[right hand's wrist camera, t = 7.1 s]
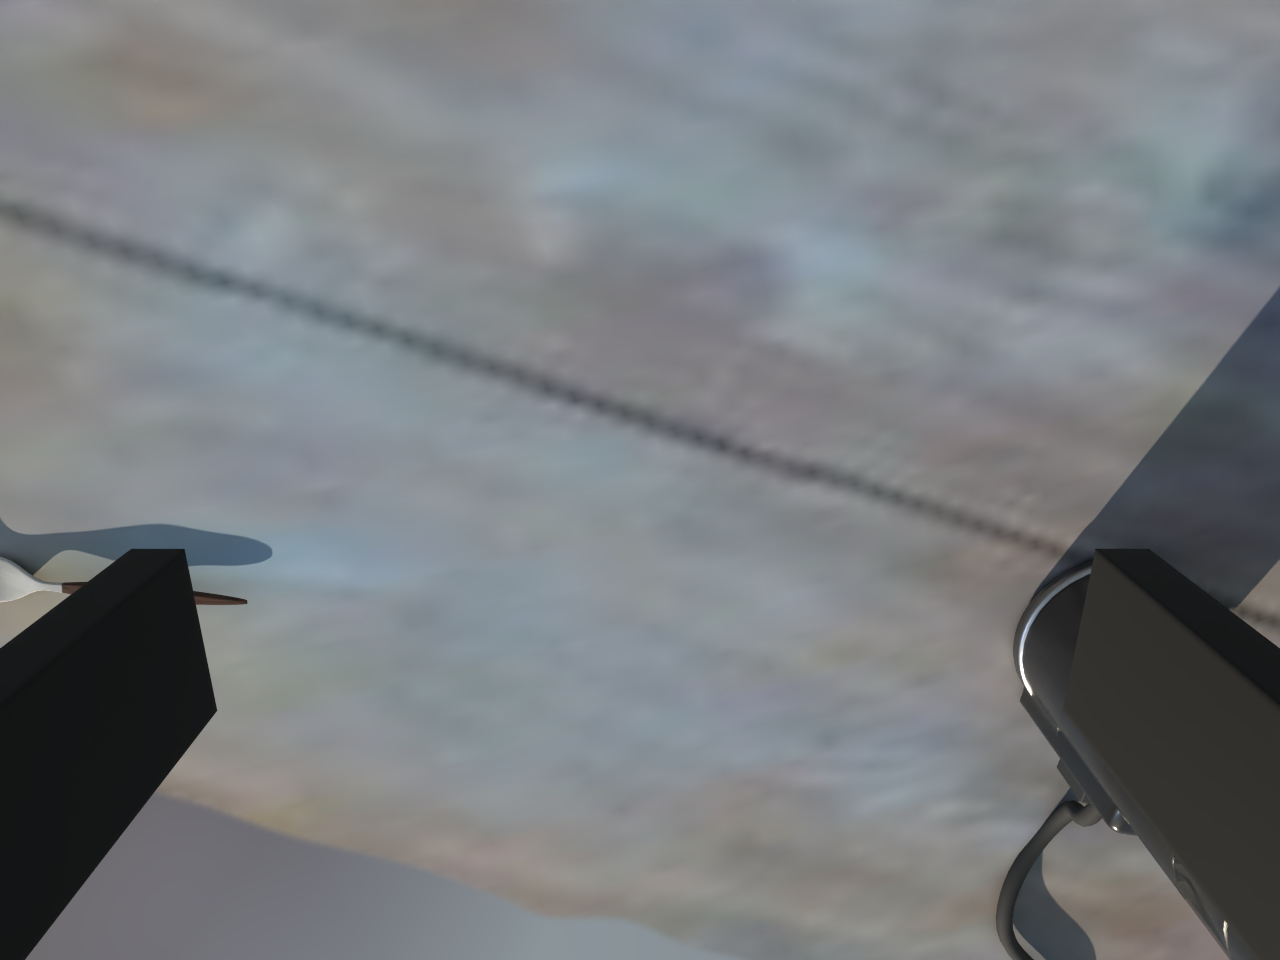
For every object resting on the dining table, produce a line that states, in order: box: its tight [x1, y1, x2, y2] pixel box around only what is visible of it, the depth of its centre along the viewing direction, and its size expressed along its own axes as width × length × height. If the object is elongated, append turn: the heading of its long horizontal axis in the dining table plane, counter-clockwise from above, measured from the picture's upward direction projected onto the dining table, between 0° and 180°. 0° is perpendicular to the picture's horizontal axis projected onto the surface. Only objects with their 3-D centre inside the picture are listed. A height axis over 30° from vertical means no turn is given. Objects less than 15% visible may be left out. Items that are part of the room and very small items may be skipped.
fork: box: [0, 557, 247, 605], centre depth 42 cm, size 3×16×2 cm, turn 85°
